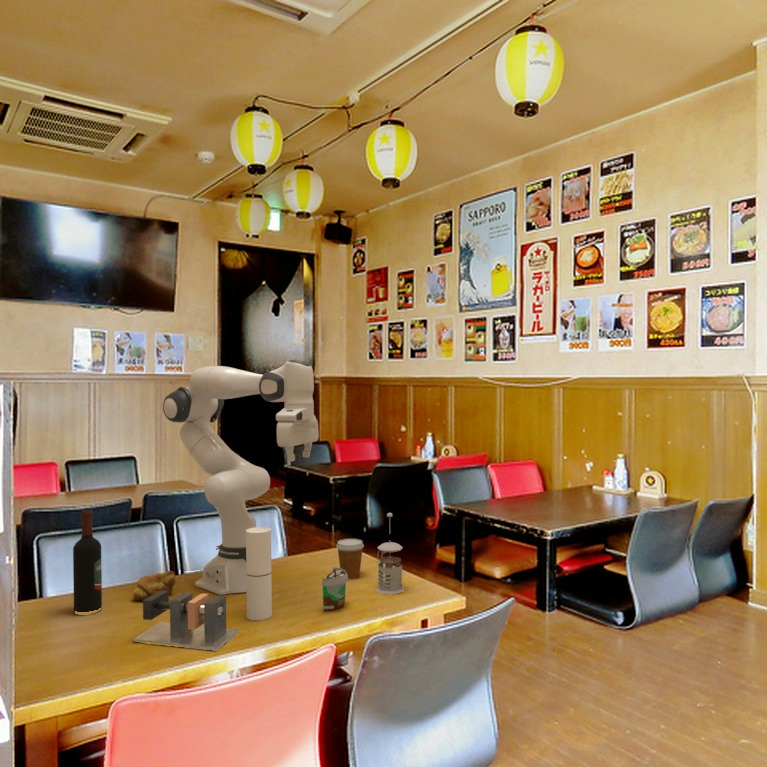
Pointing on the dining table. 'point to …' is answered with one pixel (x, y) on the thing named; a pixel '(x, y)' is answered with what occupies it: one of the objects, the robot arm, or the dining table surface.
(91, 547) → the wine bottle
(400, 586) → the french press
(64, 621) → the dining table surface
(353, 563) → the disposable coffee cup
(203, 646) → the shaft frame
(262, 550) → the cylindrical container
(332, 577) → the food container
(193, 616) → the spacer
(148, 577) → the bread roll
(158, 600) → the shaft
